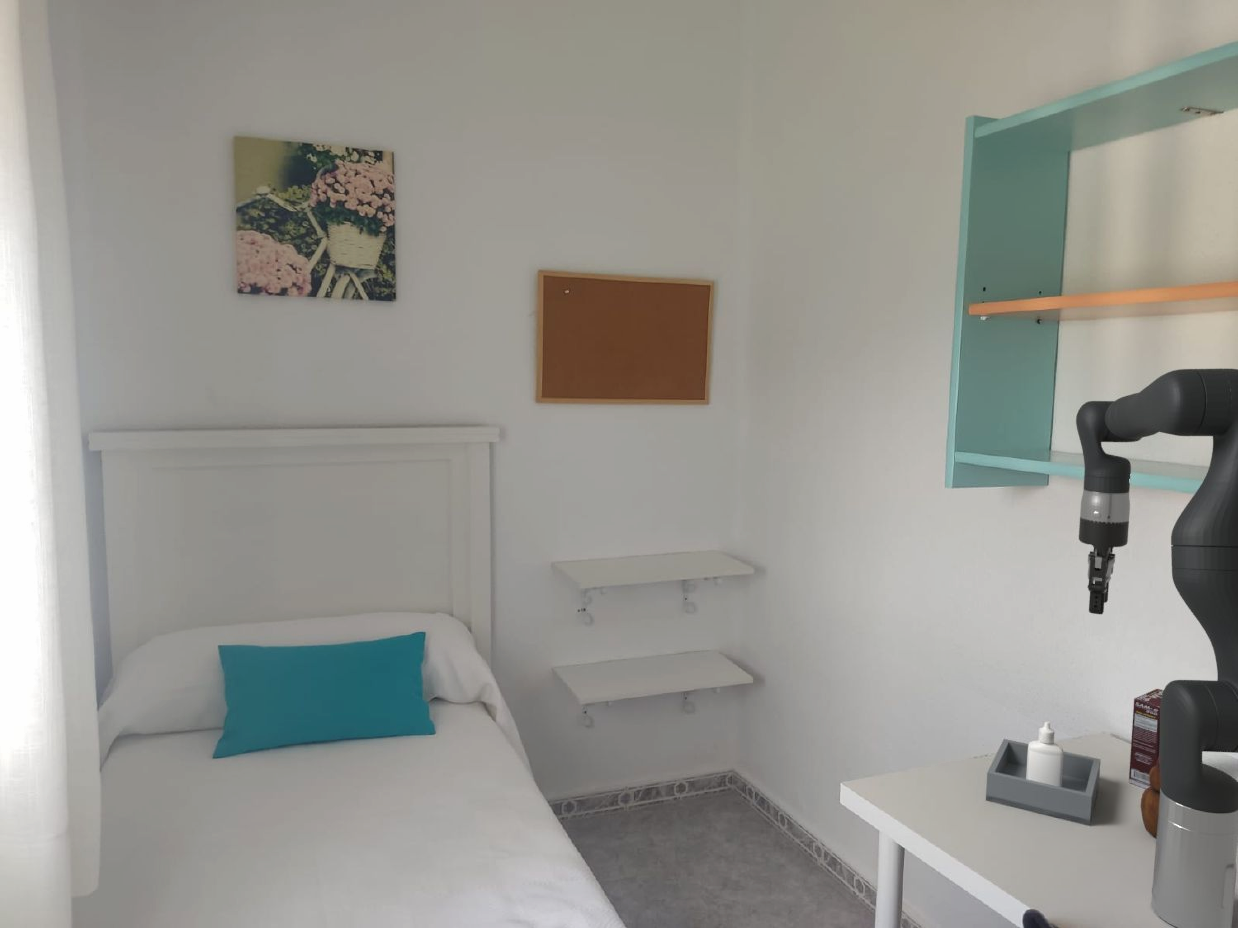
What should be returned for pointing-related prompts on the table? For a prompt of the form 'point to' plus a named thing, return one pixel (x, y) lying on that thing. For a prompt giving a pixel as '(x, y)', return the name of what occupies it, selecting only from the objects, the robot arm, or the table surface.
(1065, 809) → the box
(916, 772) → the table surface
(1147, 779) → the supplement box
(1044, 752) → the eye dropper bottle
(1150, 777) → the wooden figurine
